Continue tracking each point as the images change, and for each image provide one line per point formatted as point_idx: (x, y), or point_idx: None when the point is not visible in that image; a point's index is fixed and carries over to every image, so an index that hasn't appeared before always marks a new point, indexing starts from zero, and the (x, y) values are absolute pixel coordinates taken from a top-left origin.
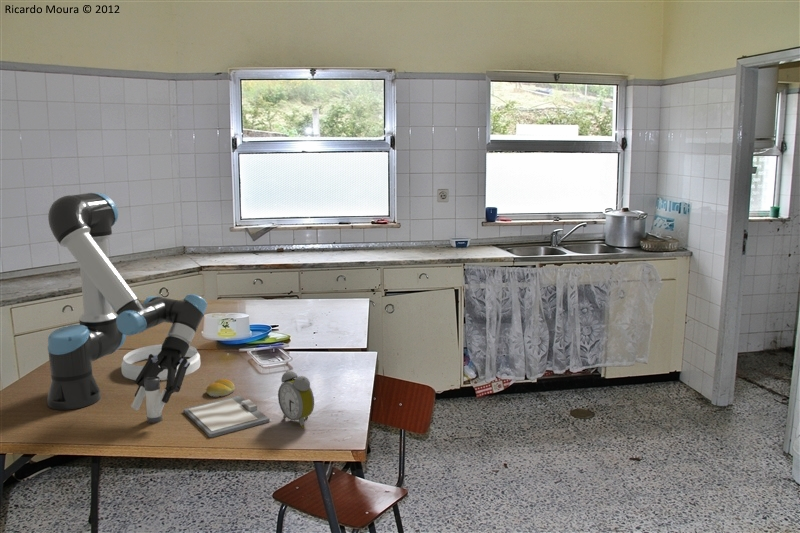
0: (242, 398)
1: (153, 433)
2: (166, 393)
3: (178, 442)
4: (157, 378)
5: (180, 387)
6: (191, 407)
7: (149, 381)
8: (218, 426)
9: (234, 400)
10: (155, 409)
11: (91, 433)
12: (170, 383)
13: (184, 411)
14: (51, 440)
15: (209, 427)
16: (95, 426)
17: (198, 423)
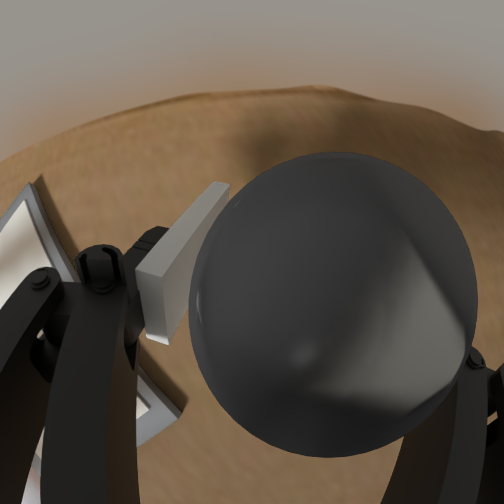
0: (35, 469)
1: (219, 176)
2: (134, 267)
3: (109, 135)
4: (234, 342)
5: (39, 353)
6: (148, 431)
7: (324, 153)
8: (12, 236)
9: (40, 458)
10: (214, 184)
11: (441, 166)
12: (66, 335)
13: (171, 406)
14: (482, 133)
15: (29, 223)
16: (465, 219)
17: (63, 261)
